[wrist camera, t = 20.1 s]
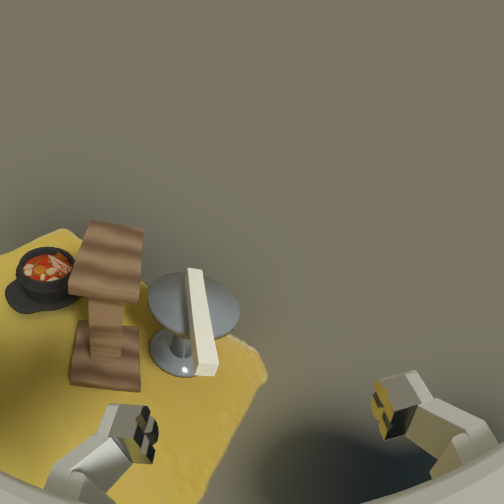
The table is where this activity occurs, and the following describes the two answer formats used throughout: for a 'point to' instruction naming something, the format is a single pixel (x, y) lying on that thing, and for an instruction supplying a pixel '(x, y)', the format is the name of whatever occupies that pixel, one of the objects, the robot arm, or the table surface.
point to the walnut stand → (107, 308)
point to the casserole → (41, 281)
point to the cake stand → (185, 321)
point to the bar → (200, 325)
